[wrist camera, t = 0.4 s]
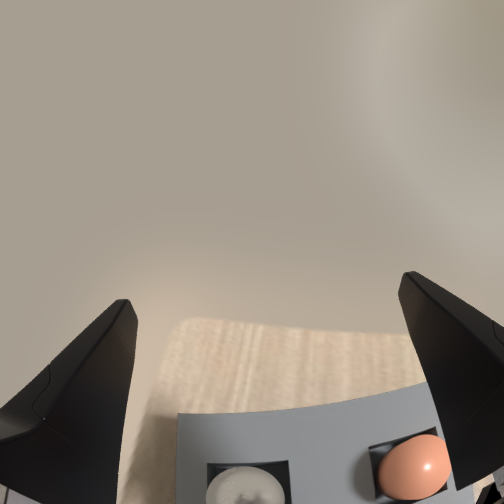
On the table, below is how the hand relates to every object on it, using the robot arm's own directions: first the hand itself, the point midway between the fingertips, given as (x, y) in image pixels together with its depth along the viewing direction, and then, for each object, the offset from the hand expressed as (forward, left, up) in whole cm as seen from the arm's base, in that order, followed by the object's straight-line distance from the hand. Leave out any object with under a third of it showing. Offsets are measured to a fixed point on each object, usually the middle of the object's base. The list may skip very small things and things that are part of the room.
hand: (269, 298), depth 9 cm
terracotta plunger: (-6, -8, -13) cm, 16 cm away
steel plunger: (-6, +2, -13) cm, 14 cm away
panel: (-6, -3, -16) cm, 17 cm away
